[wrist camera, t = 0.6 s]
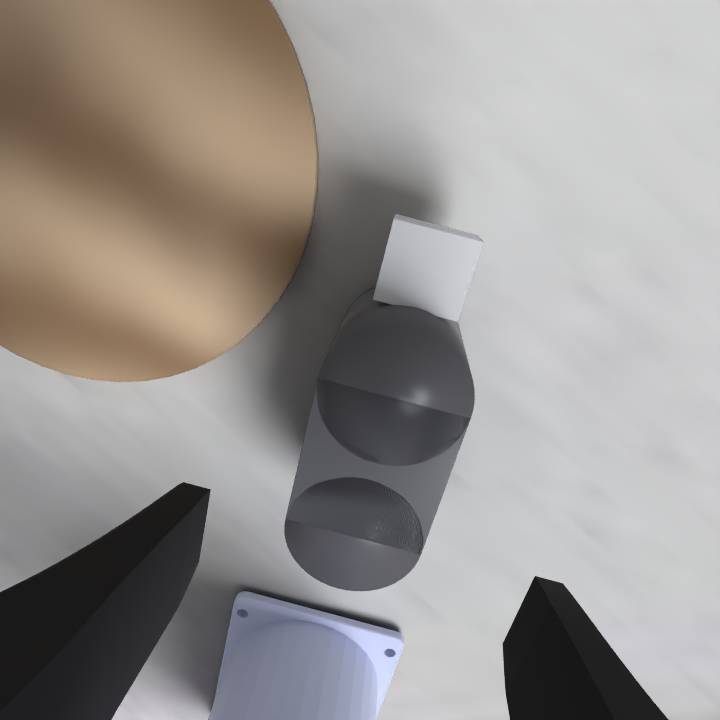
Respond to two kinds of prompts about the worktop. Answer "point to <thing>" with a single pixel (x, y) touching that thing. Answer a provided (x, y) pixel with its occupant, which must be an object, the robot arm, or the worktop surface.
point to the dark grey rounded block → (387, 415)
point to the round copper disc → (148, 180)
